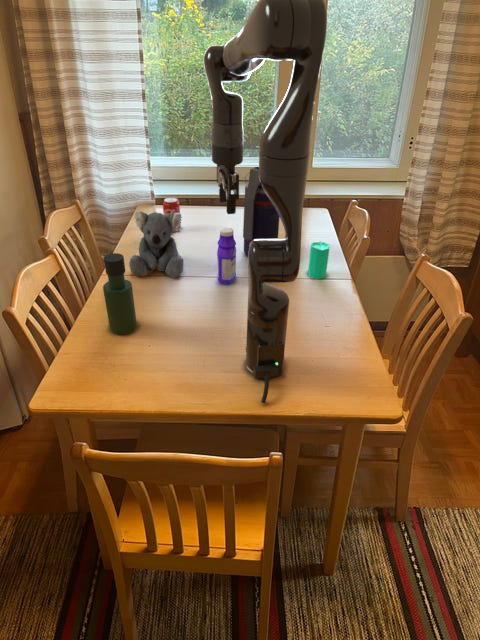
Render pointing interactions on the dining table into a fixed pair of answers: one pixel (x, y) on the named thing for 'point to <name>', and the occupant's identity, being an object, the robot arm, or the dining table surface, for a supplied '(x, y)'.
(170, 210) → the beverage can
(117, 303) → the green bottle
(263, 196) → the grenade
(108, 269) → the cylinder
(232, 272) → the bottle
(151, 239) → the koala plush
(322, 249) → the candle
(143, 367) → the dining table surface
